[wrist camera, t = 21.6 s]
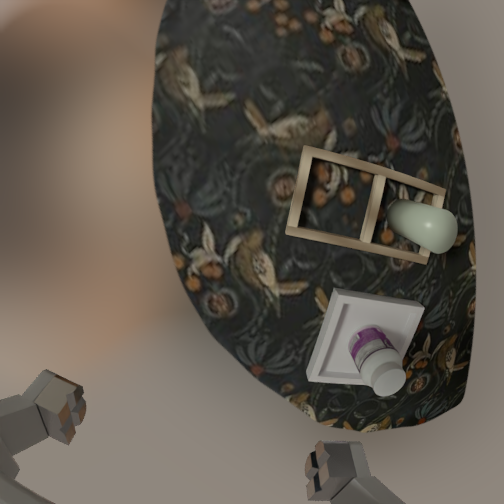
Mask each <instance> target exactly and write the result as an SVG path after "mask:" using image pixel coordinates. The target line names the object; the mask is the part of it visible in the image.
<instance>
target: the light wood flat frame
mask: <svg viewBox="0 0 504 504" xmlns="http://www.w3.org/2000/svg"><path fill="white" fill-rule="evenodd" d="M312 157H313V158H317V159H321V160H325V161H329V162H333V163H337V164H341V165H344V166H348V167H352V168H355V169H359V170H362V171H365V172H369V173H372V174H375V176H374V180H373V185H372V190H371V194H370V198H369V203H368V207H367V211H366V215H365V219H364V223H363V227H362V231H361V235H360V239H356V238H351V237H347V236H342V235H337V234H333V233H328V232H324V231H319V230H314V229H310V228H305V227H300V226H298V221H299V217H300V212H301V208H302V203H303V199H304V194H305V190H306V185H307V180H308V176H309V171H310V166H311V161H312ZM386 178H388V179H392V180H395V181H398V182H401V183H404V184H407V185H410V186H413V187H416V188H419V189H421V190H424V191H427V192H430V193H433V194H434V195H433V200H432V204H431V206H434V207H437V208H441V209H442V206H443V201H444V197H445V192H446V189H443V188H441V187H438V186H436V185H433V184H430V183H428V182H425V181H422V180H420V179H417V178H414V177H411V176H408V175H405V174H402V173H400V172H397V171H394V170H391V169H387V168H384V167H381V166H378V165H375V164H372V163H368V162H365V161H362V160H358V159H355V158H351V157H348V156H344V155H341V154H337V153H333V152H330V151H326V150H322V149H318V148H314V147H310V146H306V145H305V146H303V151H302V156H301V161H300V166H299V170H298V175H297V180H296V185H295V189H294V194H293V199H292V203H291V208H290V213H289V217H288V222H287V226H286V231H285V233H286V235H291V236H296V237H301V238H306V239H311V240H316V241H321V242H325V243H330V244H335V245H340V246H344V247H349V248H354V249H358V250H363V251H368V252H372V253H377V254H381V255H386V256H391V257H395V258H399V259H404V260H408V261H413V262H417V263H422V264H426V265H427V261H428V258H429V255H430V252H431V251H430V250H428V249H426V248H424V247H422V246H421V247H420V250H419V253H415V252H411V251H407V250H403V249H399V248H394V247H390V246H386V245H382V244H377V243H373V242H371V239H372V235H373V231H374V227H375V223H376V219H377V215H378V211H379V207H380V203H381V198H382V194H383V189H384V185H385V180H386Z"/></svg>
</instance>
